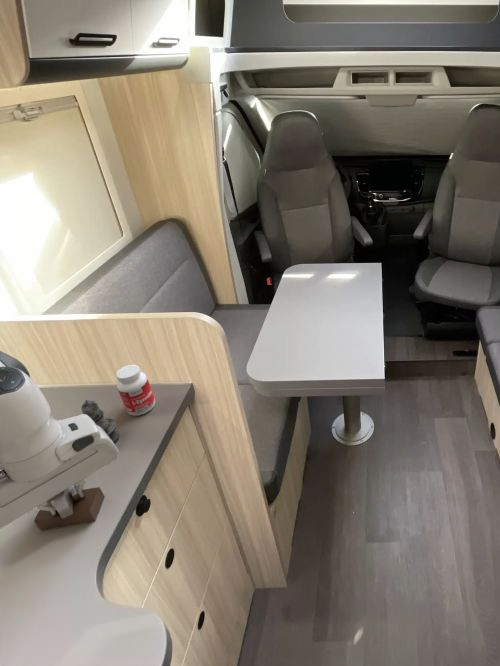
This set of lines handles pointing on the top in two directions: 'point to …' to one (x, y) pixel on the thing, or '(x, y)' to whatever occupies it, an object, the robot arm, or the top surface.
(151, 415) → the top surface
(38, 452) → the robot arm
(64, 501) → the grey rectangular block
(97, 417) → the dark chess piece
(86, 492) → the brown block
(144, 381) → the pill bottle
